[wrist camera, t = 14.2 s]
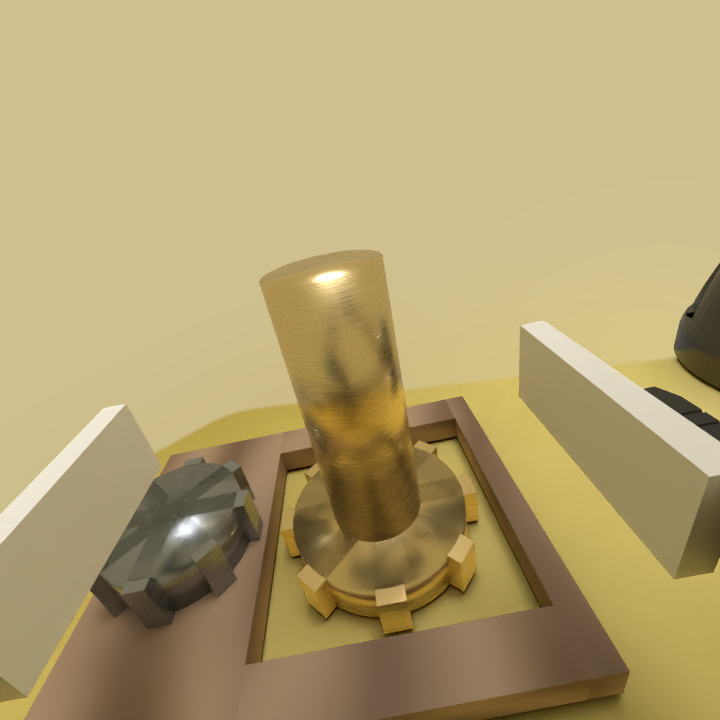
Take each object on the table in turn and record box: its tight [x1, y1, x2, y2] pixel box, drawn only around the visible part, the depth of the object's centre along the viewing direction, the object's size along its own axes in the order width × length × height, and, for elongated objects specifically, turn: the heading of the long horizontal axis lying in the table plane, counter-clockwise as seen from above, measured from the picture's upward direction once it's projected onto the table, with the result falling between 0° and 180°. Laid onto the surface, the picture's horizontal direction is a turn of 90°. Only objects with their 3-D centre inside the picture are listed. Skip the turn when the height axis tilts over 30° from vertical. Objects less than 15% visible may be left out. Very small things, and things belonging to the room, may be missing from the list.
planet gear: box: [260, 250, 478, 634], centre depth 16 cm, size 10×10×14 cm
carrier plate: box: [24, 396, 630, 720], centre depth 19 cm, size 21×16×2 cm
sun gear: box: [90, 457, 263, 629], centre depth 18 cm, size 8×8×2 cm
